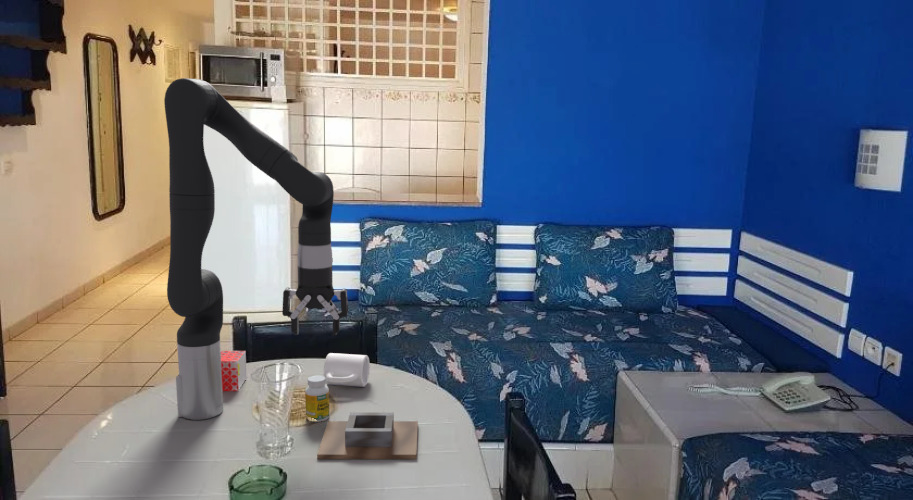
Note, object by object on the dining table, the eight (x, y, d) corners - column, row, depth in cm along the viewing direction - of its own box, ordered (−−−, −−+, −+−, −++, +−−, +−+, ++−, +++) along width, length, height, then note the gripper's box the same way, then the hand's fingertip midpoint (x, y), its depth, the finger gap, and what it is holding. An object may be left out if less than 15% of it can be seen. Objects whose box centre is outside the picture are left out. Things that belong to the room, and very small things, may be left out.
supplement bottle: (317, 411, 169) (316, 372, 167) (334, 416, 166) (333, 377, 165) (300, 419, 165) (299, 379, 163) (318, 424, 162) (317, 384, 160)
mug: (333, 377, 191) (332, 348, 189) (369, 380, 190) (369, 351, 188) (318, 394, 179) (317, 364, 178) (357, 397, 178) (357, 366, 176)
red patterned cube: (238, 391, 180) (237, 361, 179) (206, 391, 180) (205, 361, 179) (246, 379, 188) (245, 350, 187) (216, 379, 188) (214, 350, 187)
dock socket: (317, 459, 146) (316, 438, 145) (328, 425, 162) (328, 406, 161) (416, 459, 147) (416, 438, 146) (417, 425, 162) (417, 406, 162)
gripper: (278, 266, 155) (280, 339, 158) (345, 267, 155) (345, 339, 159) (285, 259, 162) (287, 329, 165) (349, 260, 163) (349, 329, 166)
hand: (315, 334), depth 162 cm, fingers open, 8 cm apart
